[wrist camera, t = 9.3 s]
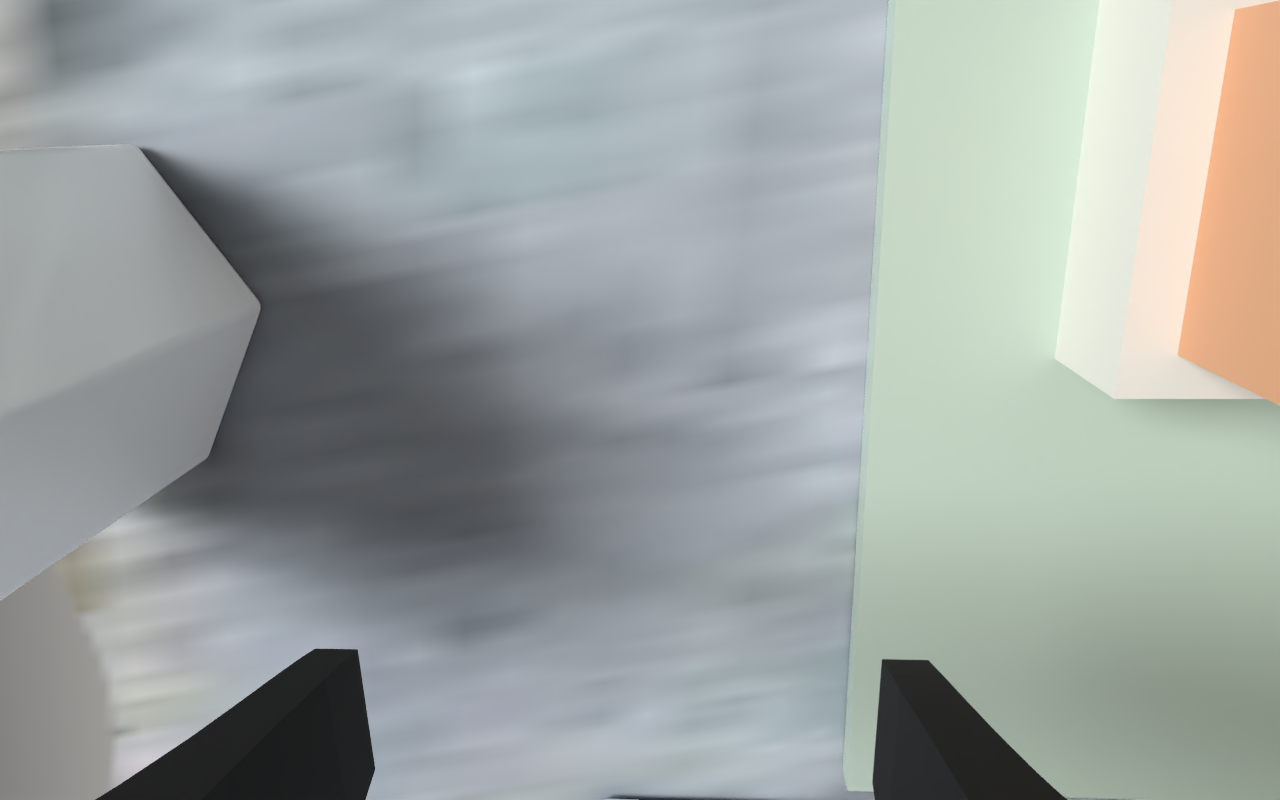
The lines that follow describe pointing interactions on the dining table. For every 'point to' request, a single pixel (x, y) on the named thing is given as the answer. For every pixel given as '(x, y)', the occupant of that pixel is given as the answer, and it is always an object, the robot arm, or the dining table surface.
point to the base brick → (1144, 197)
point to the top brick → (1241, 218)
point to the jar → (103, 345)
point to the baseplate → (1044, 452)
